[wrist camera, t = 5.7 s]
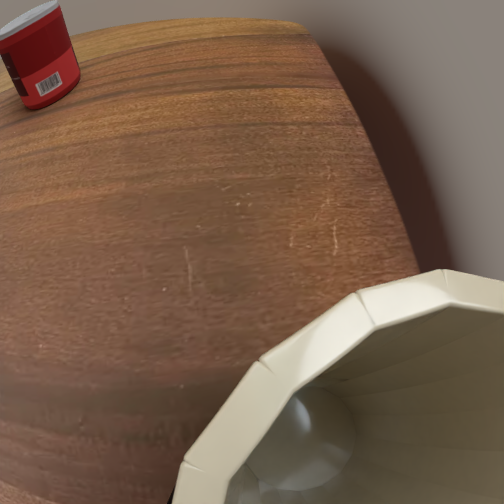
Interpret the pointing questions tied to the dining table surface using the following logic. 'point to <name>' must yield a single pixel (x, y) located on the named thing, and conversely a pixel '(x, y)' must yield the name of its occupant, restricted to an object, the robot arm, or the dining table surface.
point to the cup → (368, 405)
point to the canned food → (40, 55)
